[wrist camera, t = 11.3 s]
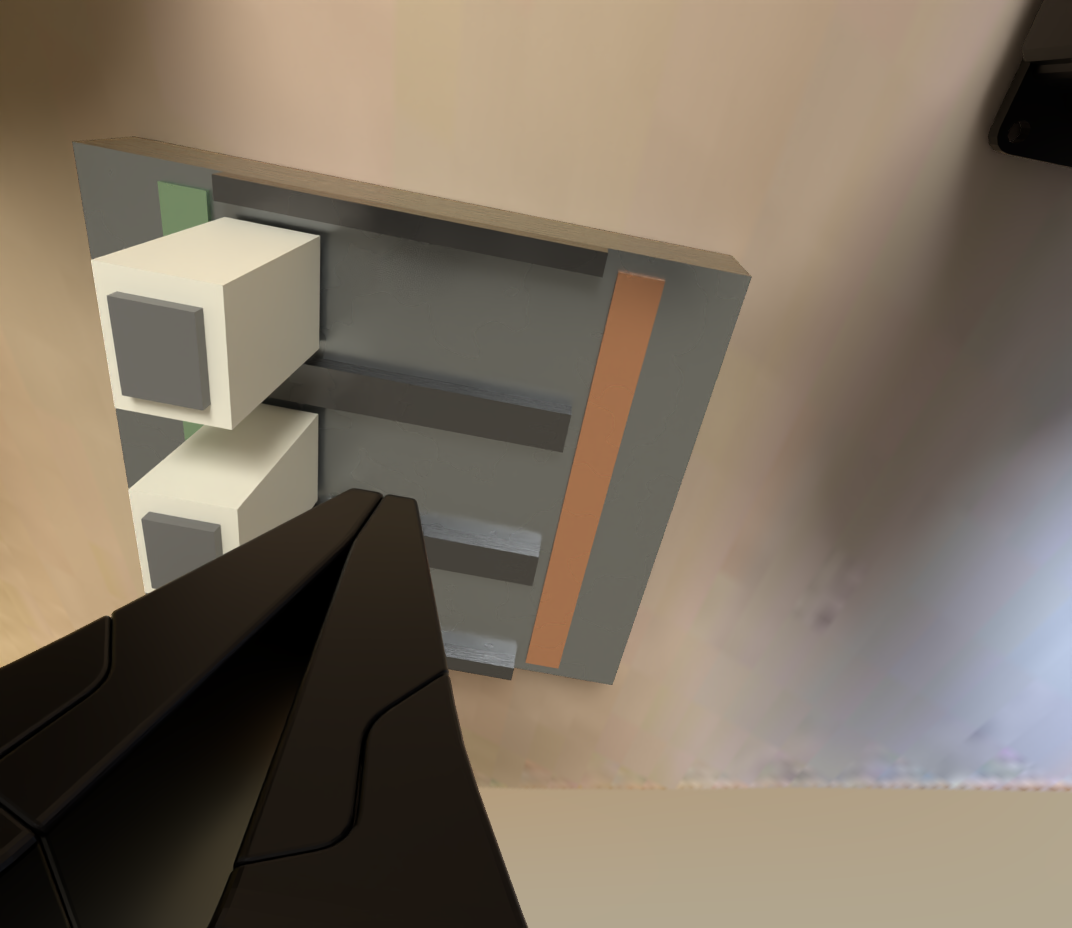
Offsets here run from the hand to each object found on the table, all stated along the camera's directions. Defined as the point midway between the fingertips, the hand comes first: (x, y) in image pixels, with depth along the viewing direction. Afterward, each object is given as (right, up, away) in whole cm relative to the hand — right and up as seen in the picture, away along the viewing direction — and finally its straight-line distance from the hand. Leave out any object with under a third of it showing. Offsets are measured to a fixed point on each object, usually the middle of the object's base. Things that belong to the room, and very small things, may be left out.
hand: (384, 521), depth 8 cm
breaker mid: (-6, +1, +11) cm, 12 cm away
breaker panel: (-2, +2, +13) cm, 14 cm away
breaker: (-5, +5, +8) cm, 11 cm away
